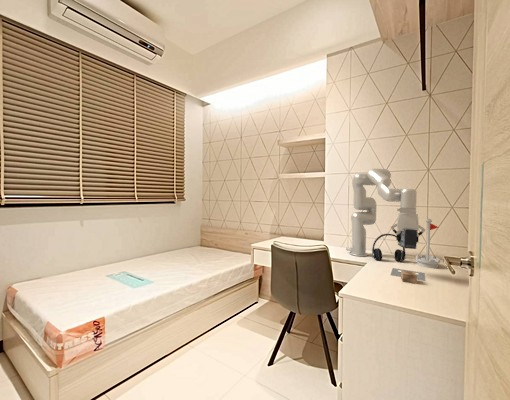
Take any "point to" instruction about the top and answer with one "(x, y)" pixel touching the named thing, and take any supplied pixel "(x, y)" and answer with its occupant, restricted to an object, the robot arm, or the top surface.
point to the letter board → (398, 271)
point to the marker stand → (426, 259)
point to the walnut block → (409, 277)
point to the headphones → (378, 254)
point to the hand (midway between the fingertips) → (407, 242)
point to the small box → (408, 238)
